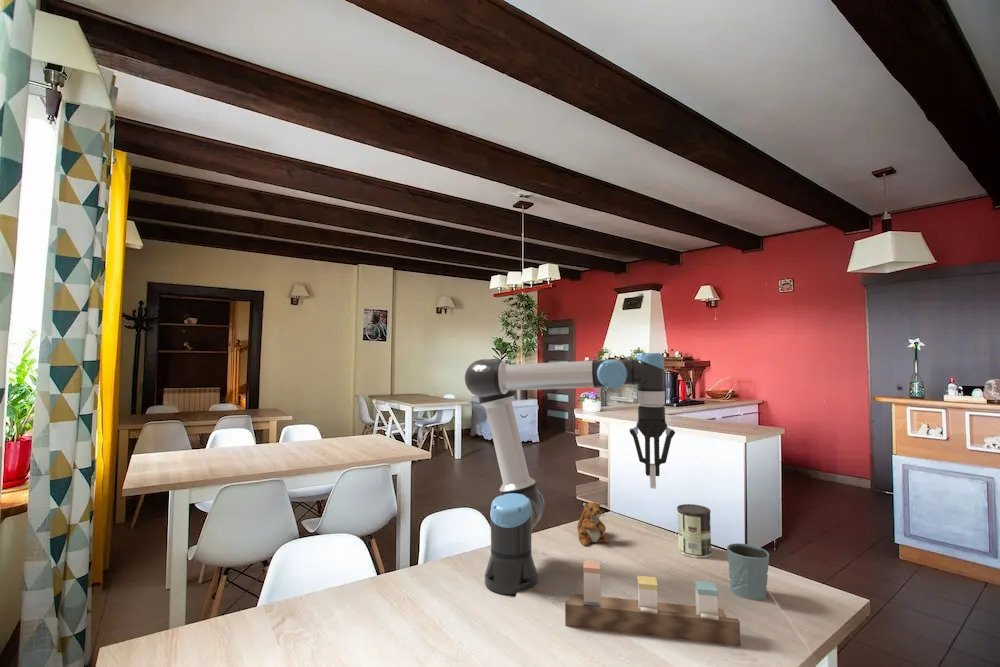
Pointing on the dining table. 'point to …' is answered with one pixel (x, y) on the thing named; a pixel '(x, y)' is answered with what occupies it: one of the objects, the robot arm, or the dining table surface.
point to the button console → (652, 620)
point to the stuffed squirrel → (591, 525)
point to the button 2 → (706, 598)
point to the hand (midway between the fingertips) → (652, 487)
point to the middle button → (647, 592)
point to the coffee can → (694, 530)
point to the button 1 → (591, 581)
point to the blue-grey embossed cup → (748, 570)
